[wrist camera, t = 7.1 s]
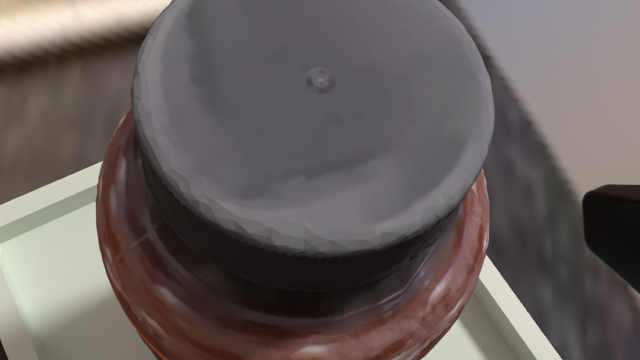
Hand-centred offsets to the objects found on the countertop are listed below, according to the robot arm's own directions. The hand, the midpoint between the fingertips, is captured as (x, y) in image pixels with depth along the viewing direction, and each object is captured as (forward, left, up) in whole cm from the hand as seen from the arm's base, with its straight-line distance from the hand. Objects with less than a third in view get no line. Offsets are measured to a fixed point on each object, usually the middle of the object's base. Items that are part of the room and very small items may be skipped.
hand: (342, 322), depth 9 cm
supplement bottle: (+2, 0, -8) cm, 8 cm away
